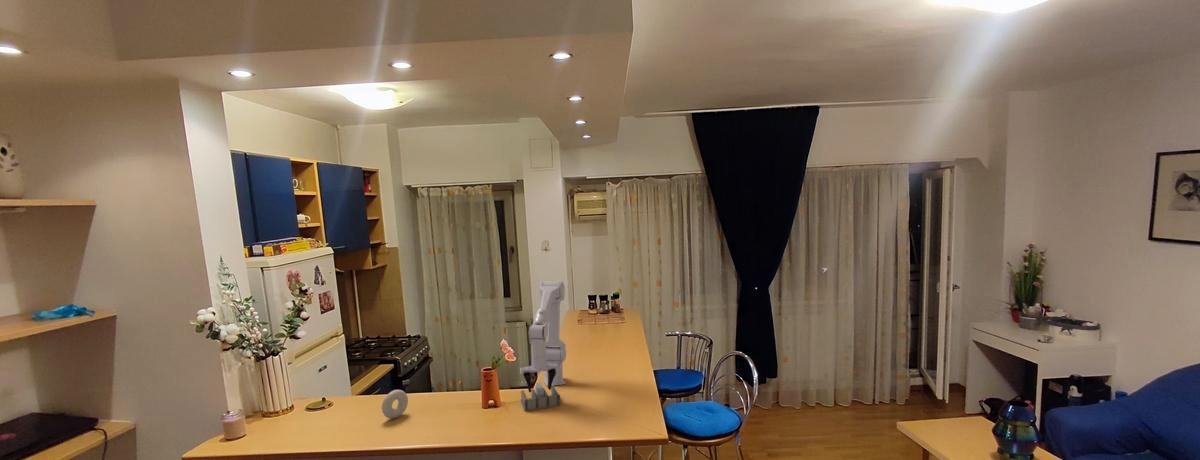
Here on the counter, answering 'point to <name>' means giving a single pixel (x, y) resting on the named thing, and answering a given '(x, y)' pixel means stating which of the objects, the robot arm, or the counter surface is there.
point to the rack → (540, 400)
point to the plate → (539, 390)
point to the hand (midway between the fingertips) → (539, 390)
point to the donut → (388, 402)
